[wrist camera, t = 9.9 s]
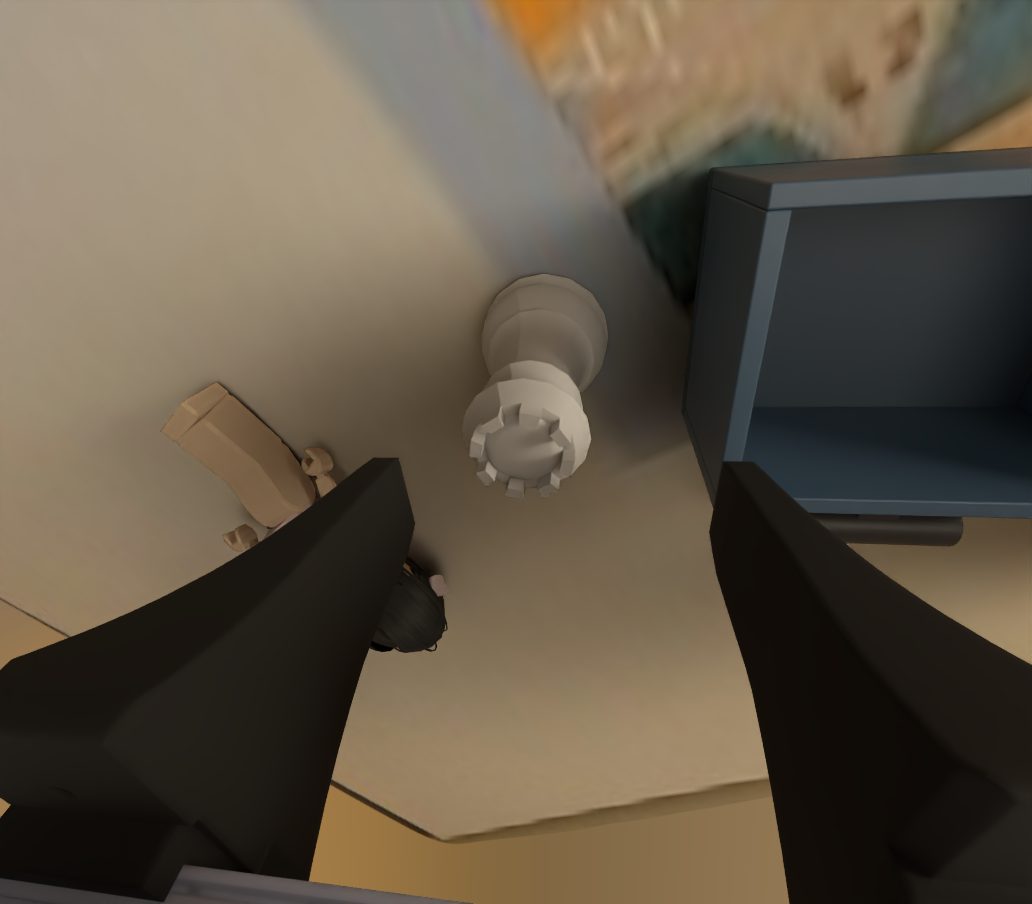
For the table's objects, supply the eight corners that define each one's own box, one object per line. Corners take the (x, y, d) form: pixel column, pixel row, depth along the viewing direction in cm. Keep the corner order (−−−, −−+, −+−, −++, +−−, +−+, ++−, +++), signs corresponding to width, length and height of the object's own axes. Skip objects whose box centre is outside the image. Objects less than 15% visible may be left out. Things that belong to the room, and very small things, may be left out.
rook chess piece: (464, 299, 18) (393, 411, 12) (581, 247, 17) (575, 343, 10) (516, 401, 20) (481, 544, 14) (624, 363, 19) (642, 503, 12)
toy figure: (168, 453, 25) (401, 625, 29) (57, 531, 19) (365, 728, 24) (245, 357, 22) (488, 562, 26) (141, 415, 17) (470, 662, 21)
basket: (1147, 138, 13) (1489, 138, 8) (977, 481, 19) (1118, 606, 14) (709, 167, 15) (770, 182, 10) (673, 475, 20) (700, 586, 15)
